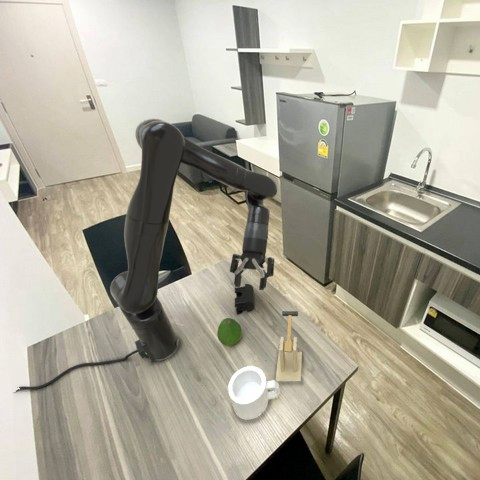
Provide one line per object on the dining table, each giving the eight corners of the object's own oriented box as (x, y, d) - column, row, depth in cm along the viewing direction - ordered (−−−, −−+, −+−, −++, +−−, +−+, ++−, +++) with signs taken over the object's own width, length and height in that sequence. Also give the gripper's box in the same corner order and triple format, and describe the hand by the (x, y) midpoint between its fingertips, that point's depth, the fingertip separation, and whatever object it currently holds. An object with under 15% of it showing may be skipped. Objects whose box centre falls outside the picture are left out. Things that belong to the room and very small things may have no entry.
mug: (278, 378, 84) (276, 360, 78) (281, 413, 76) (280, 396, 70) (234, 387, 81) (228, 369, 75) (233, 425, 73) (226, 408, 67)
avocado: (226, 355, 90) (220, 334, 83) (216, 339, 94) (209, 318, 87) (247, 342, 94) (243, 321, 87) (237, 327, 99) (232, 306, 92)
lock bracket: (278, 353, 91) (276, 328, 83) (302, 353, 92) (302, 329, 84) (275, 382, 83) (272, 359, 75) (300, 382, 84) (300, 359, 75)
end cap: (255, 312, 105) (253, 300, 101) (237, 315, 103) (234, 303, 99) (254, 293, 113) (252, 282, 109) (236, 296, 111) (234, 285, 107)
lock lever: (282, 312, 87) (282, 310, 85) (298, 312, 87) (297, 310, 85) (280, 352, 81) (279, 351, 79) (296, 352, 81) (296, 351, 79)
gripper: (229, 235, 84) (222, 286, 82) (270, 237, 80) (264, 291, 78) (242, 238, 91) (236, 285, 89) (280, 241, 87) (274, 290, 86)
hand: (249, 288), depth 84 cm, fingers open, 8 cm apart
